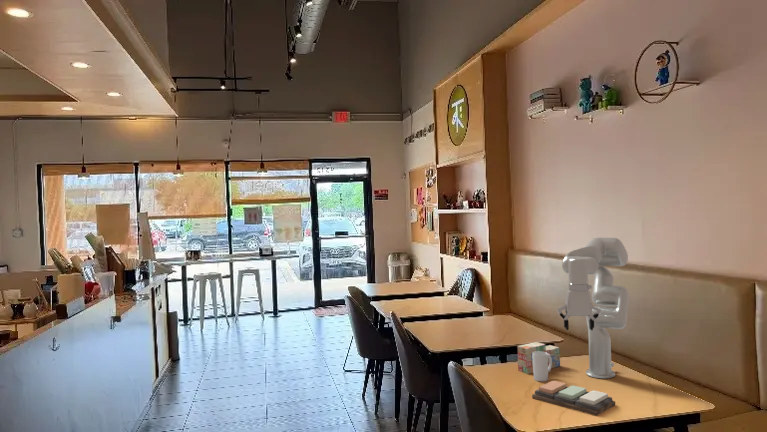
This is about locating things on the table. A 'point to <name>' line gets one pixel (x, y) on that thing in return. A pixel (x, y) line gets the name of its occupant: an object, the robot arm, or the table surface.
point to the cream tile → (593, 397)
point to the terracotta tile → (552, 387)
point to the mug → (541, 365)
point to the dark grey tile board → (574, 402)
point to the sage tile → (572, 392)
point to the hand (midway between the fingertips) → (579, 329)
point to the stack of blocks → (527, 356)
